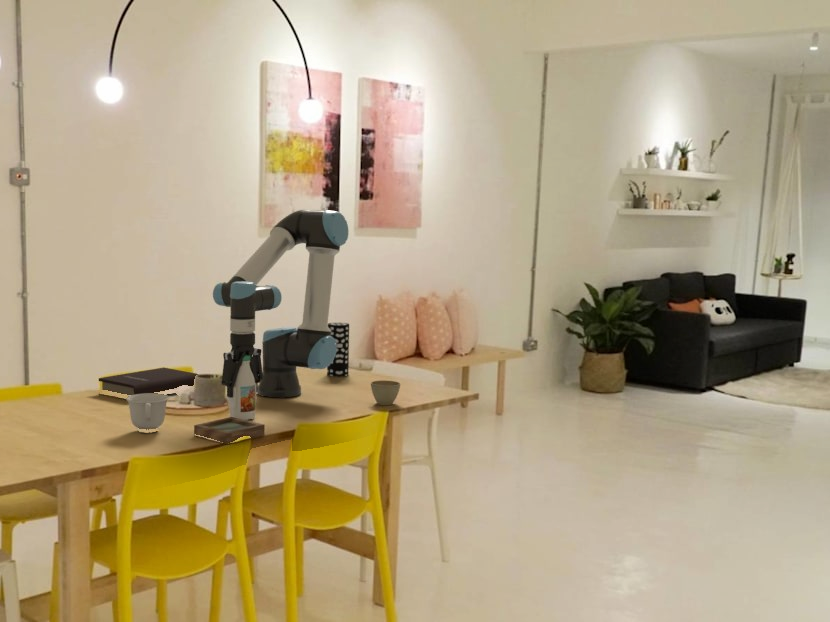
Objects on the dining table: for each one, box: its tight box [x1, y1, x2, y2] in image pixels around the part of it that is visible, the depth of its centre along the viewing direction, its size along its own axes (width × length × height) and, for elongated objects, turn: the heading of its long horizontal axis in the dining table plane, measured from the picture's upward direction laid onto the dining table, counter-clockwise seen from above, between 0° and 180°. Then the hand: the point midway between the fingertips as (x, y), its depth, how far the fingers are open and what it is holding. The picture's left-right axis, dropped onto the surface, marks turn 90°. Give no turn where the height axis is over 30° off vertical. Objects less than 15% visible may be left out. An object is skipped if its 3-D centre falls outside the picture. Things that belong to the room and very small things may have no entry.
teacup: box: [125, 393, 170, 430], centre depth 269 cm, size 12×15×10 cm
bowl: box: [370, 379, 401, 406], centre depth 315 cm, size 10×10×7 cm
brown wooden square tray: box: [193, 416, 266, 445], centre depth 268 cm, size 14×14×3 cm
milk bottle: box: [229, 355, 256, 421], centre depth 288 cm, size 8×8×20 cm
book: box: [98, 367, 199, 395], centre depth 325 cm, size 28×20×6 cm
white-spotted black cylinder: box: [326, 322, 350, 378], centre depth 364 cm, size 8×8×20 cm
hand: (242, 405), depth 289 cm, fingers closed on milk bottle, 8 cm apart
